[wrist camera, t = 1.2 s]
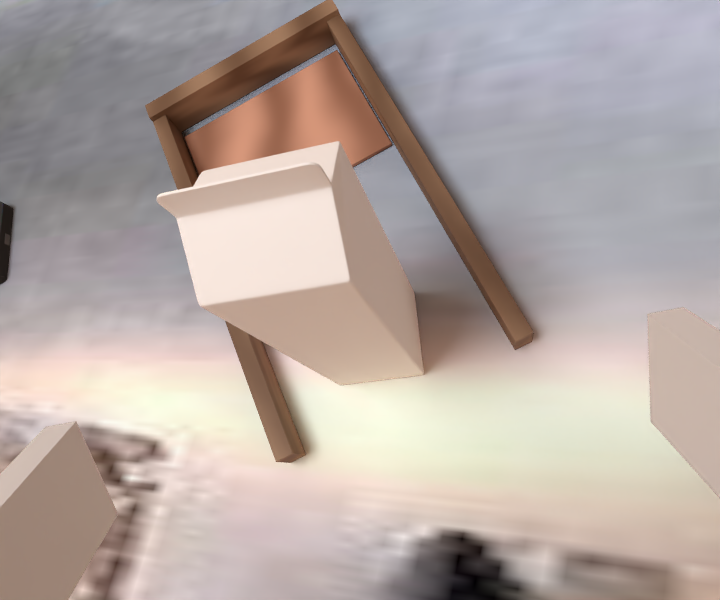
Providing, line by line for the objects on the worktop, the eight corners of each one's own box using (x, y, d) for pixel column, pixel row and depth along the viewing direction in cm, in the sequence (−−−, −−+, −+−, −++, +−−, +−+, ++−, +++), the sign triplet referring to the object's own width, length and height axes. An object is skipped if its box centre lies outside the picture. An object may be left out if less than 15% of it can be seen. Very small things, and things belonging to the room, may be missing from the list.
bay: (341, 25, 48) (330, -3, 45) (531, 341, 35) (533, 329, 33) (165, 126, 49) (145, 105, 46) (290, 462, 37) (273, 461, 34)
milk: (424, 375, 37) (326, 250, 16) (338, 386, 38) (146, 283, 18) (414, 290, 39) (315, 84, 18) (332, 303, 40) (154, 123, 19)
